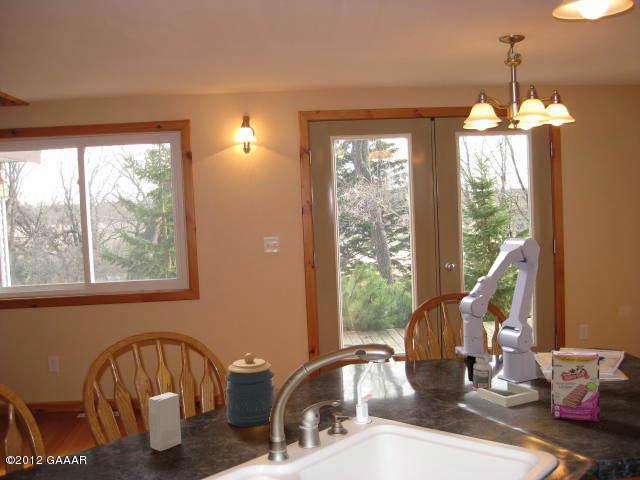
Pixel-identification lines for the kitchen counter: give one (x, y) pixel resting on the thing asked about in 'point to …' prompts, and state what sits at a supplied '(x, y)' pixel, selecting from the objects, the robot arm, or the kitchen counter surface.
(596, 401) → the candy bar box
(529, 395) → the u-shaped bracket
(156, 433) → the skincare box
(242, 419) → the canister
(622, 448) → the kitchen counter surface
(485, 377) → the pill bottle
